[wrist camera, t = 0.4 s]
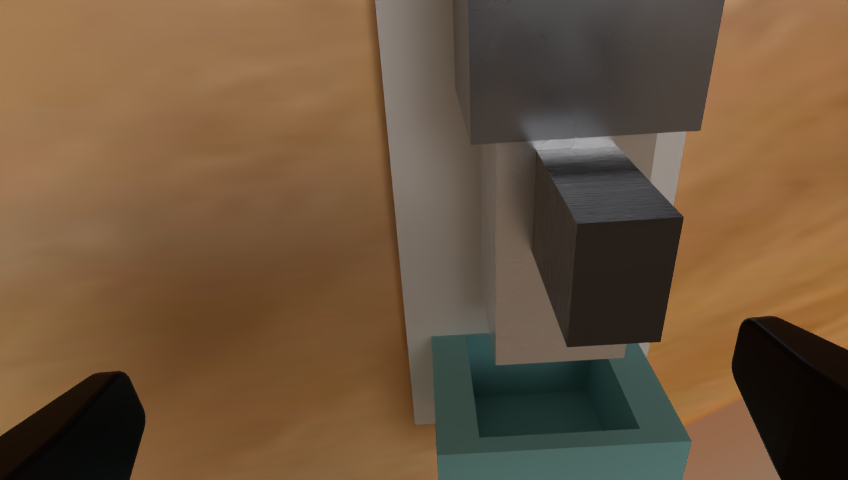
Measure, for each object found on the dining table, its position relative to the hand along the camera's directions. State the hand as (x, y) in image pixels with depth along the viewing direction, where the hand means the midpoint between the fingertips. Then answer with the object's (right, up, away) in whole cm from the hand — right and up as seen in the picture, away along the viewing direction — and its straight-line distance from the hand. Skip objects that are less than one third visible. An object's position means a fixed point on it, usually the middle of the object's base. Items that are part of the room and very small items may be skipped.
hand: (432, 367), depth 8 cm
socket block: (+4, -3, +16) cm, 17 cm away
